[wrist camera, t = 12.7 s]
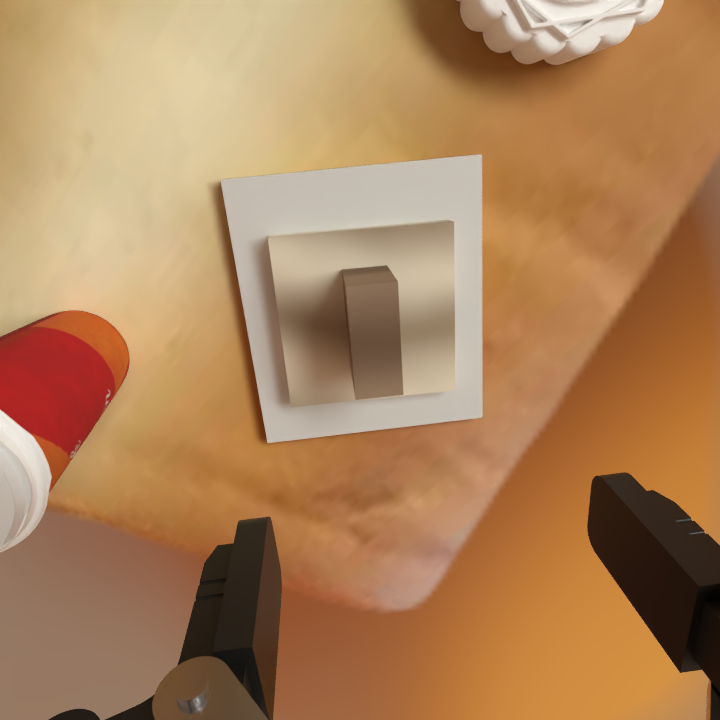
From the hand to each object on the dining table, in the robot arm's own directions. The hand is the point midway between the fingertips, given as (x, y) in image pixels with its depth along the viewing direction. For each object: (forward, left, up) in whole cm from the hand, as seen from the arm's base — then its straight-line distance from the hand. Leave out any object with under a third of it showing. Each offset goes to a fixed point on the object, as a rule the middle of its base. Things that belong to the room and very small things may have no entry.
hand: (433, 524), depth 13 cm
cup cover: (0, 0, -19) cm, 19 cm away
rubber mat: (0, 0, -20) cm, 20 cm away
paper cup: (+1, -17, -20) cm, 26 cm away
